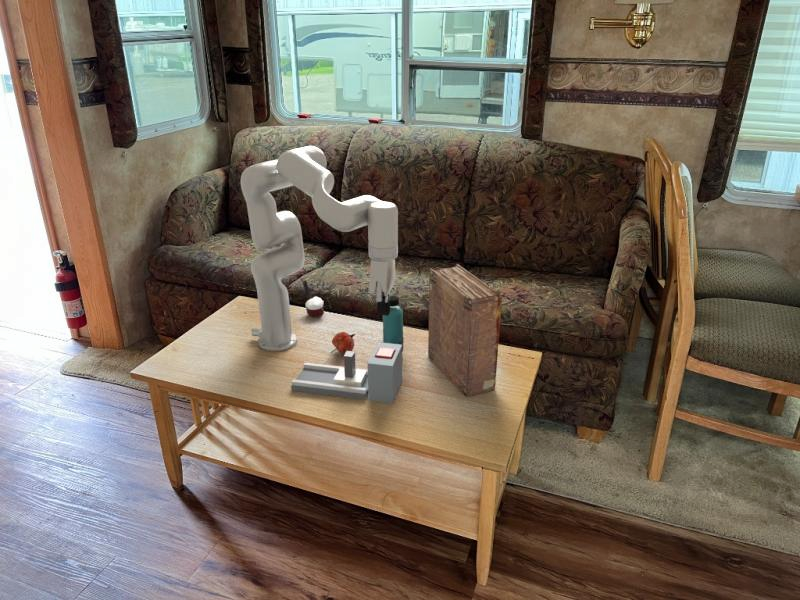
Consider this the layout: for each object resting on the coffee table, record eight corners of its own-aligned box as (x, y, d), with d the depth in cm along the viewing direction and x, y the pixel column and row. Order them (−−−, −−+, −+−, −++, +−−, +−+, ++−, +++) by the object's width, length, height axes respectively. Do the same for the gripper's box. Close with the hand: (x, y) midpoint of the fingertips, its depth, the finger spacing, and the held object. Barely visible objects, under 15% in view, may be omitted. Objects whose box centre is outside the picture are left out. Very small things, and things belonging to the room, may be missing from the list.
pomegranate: (335, 365, 195) (360, 348, 192) (320, 348, 193) (345, 330, 191) (339, 356, 202) (363, 339, 199) (325, 339, 200) (349, 322, 198)
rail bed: (291, 390, 178) (290, 382, 177) (306, 369, 189) (305, 361, 188) (365, 399, 174) (364, 391, 173) (376, 377, 184) (375, 369, 183)
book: (427, 356, 196) (429, 267, 183) (453, 350, 199) (456, 263, 186) (467, 397, 174) (471, 301, 162) (495, 390, 178) (502, 295, 165)
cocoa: (327, 319, 220) (327, 288, 215) (310, 322, 218) (309, 291, 212) (318, 307, 228) (317, 277, 223) (301, 310, 225) (300, 280, 220)
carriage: (333, 385, 178) (332, 357, 174) (340, 373, 183) (339, 346, 179) (360, 388, 176) (359, 360, 172) (366, 376, 182) (365, 349, 178)
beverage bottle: (401, 361, 193) (401, 302, 184) (380, 358, 194) (379, 301, 186) (405, 350, 199) (405, 293, 190) (385, 348, 200) (384, 292, 191)
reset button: (376, 367, 173) (376, 355, 171) (380, 359, 177) (379, 347, 175) (391, 369, 172) (390, 356, 171) (394, 361, 176) (394, 349, 174)
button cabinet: (368, 400, 174) (367, 363, 168) (379, 377, 184) (378, 342, 179) (393, 403, 172) (392, 365, 167) (402, 380, 183) (402, 344, 178)
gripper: (376, 239, 167) (377, 300, 175) (361, 259, 154) (362, 324, 162) (403, 241, 166) (403, 303, 174) (390, 262, 153) (390, 328, 161)
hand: (383, 313), depth 168 cm, fingers closed
